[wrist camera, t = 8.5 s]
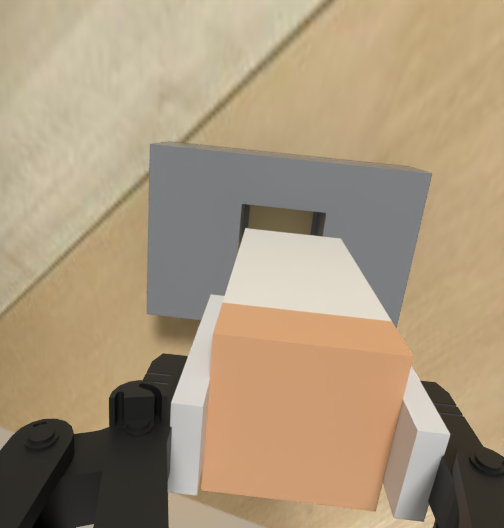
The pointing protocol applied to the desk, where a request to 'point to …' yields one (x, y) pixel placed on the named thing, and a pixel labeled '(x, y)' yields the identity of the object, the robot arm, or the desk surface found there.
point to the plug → (302, 376)
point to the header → (273, 217)
